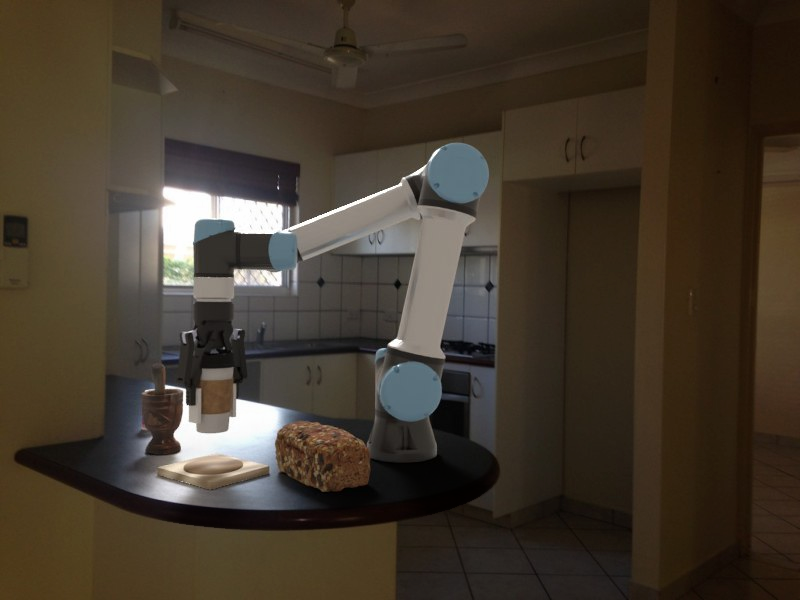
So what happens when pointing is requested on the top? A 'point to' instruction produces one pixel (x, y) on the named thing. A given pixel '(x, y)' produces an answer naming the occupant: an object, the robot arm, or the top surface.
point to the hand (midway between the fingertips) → (212, 419)
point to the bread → (322, 456)
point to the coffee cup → (216, 392)
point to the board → (213, 470)
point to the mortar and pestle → (162, 413)
